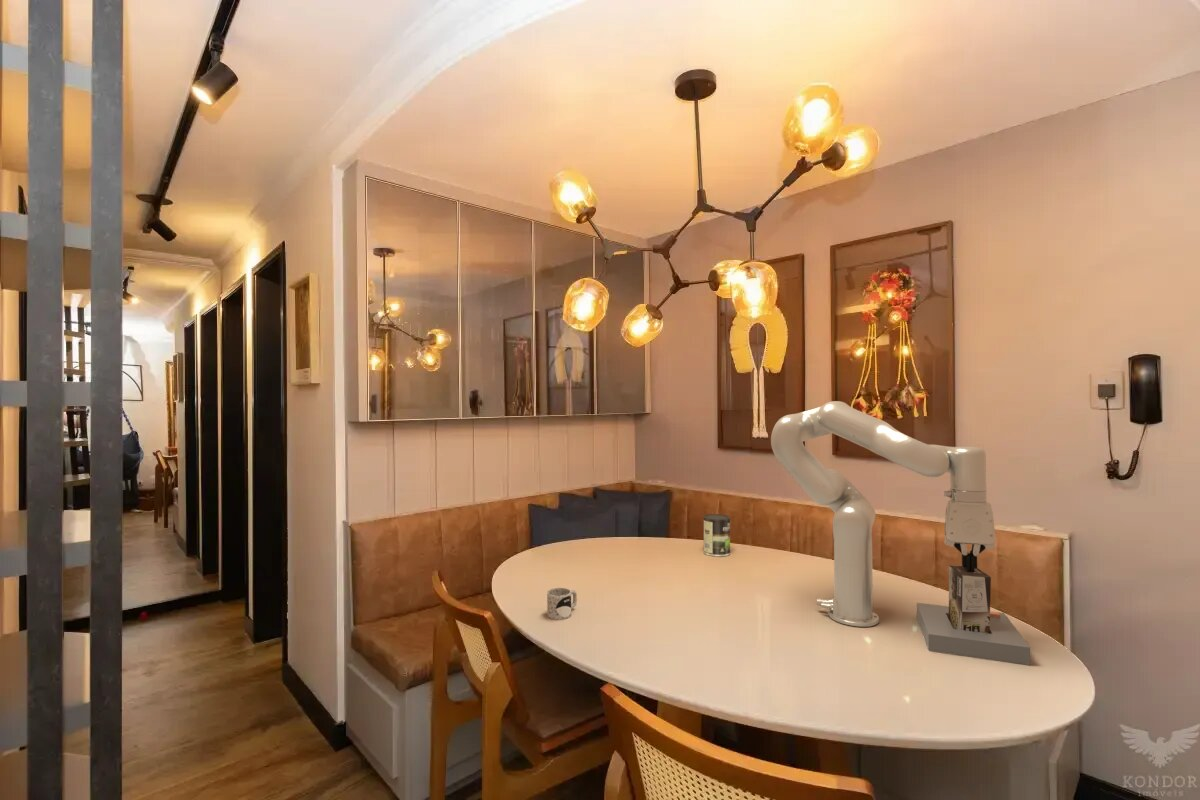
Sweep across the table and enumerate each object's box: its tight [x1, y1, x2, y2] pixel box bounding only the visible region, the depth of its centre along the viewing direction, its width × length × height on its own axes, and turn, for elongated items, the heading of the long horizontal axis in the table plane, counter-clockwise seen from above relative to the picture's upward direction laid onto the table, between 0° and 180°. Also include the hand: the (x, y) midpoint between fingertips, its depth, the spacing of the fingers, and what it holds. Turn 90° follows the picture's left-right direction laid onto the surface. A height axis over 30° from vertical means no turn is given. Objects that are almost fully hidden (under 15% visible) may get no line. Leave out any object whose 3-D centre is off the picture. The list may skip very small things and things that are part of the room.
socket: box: [916, 602, 1031, 666], centre depth 142 cm, size 20×22×5 cm
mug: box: [546, 587, 578, 621], centre depth 161 cm, size 10×7×7 cm
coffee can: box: [702, 513, 731, 558], centre depth 221 cm, size 10×10×14 cm
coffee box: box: [948, 565, 992, 634], centre depth 142 cm, size 9×6×16 cm
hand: (969, 570), depth 142 cm, fingers closed
